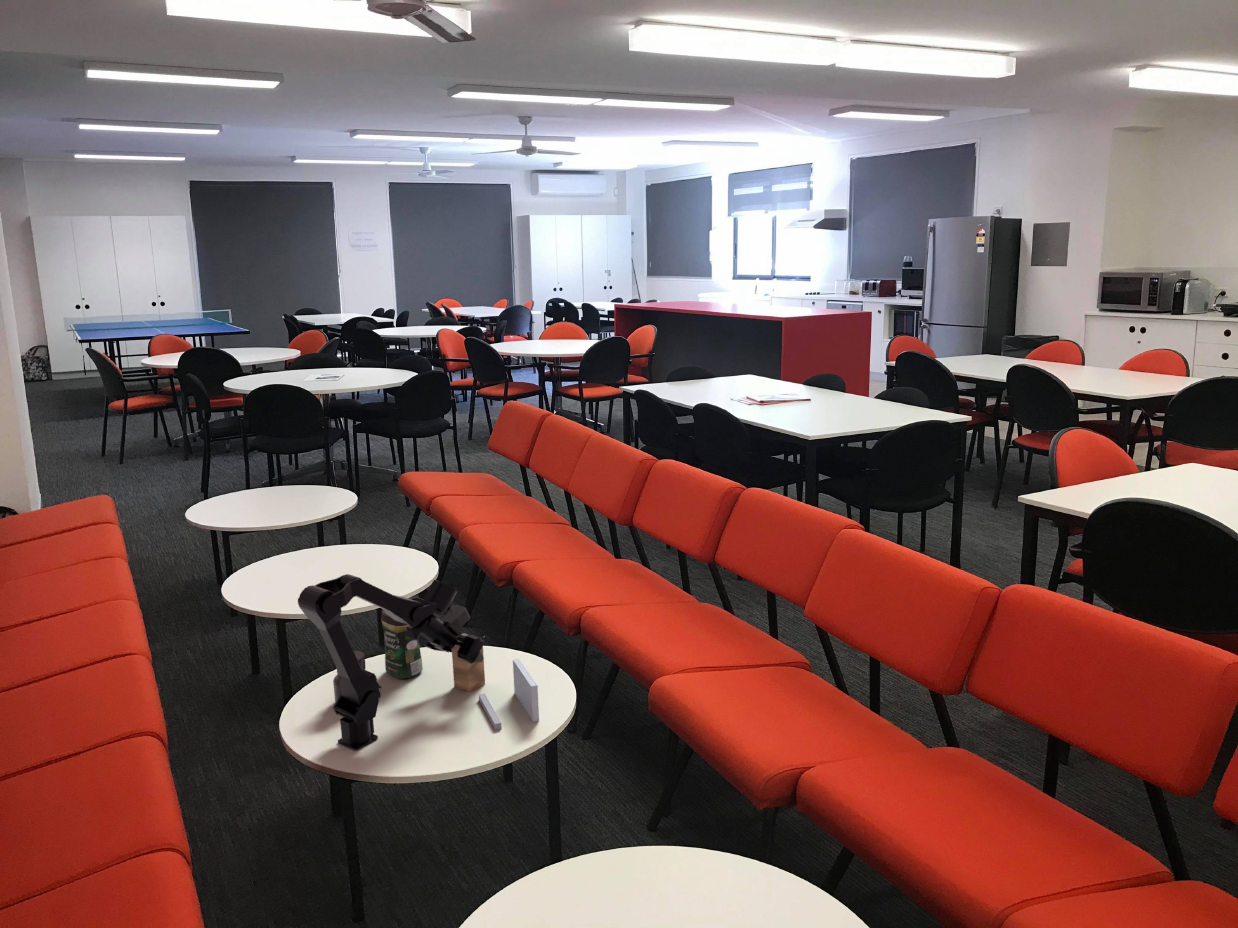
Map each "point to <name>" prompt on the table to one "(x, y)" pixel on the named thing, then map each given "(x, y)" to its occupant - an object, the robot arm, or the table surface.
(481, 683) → the tan upright block
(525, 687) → the wall dock
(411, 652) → the coffee jar
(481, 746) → the table surface
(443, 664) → the table surface
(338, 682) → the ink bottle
